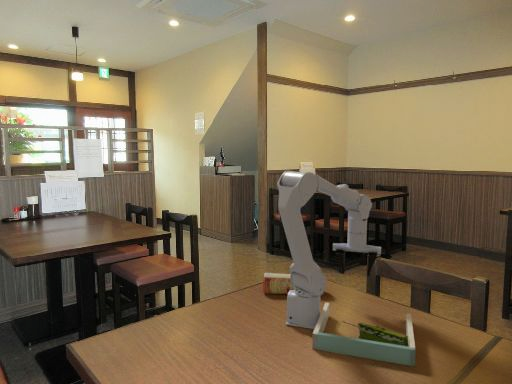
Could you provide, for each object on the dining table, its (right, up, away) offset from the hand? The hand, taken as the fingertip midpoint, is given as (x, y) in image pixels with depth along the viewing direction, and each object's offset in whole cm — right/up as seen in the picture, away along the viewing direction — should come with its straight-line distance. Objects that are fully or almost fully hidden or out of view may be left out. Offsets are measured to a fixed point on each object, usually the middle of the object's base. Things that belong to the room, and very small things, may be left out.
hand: (355, 274), depth 118 cm
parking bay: (-3, -13, -19) cm, 23 cm away
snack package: (-19, -10, +12) cm, 24 cm away
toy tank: (-1, -13, -20) cm, 24 cm away
